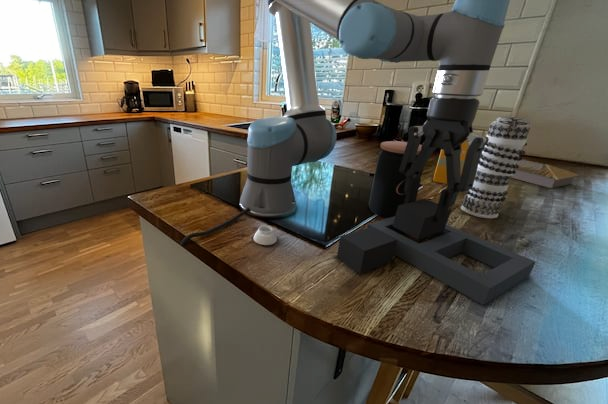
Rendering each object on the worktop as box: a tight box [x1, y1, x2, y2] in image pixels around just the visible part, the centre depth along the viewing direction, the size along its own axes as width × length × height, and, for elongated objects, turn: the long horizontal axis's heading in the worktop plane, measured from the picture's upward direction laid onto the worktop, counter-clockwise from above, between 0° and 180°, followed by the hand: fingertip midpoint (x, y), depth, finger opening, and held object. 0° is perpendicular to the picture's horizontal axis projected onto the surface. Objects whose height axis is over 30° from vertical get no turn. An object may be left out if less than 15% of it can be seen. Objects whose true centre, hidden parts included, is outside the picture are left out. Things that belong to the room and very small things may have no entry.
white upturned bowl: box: [253, 225, 278, 246], centre depth 64 cm, size 5×3×5 cm
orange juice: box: [432, 139, 469, 185], centre depth 102 cm, size 8×9×20 cm
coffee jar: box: [368, 140, 425, 219], centre depth 77 cm, size 11×11×18 cm
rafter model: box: [511, 158, 581, 189], centre depth 115 cm, size 35×14×6 cm, turn 23°
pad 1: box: [336, 226, 397, 275], centre depth 58 cm, size 9×6×5 cm, turn 118°
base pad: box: [366, 216, 537, 306], centre depth 60 cm, size 16×24×4 cm, turn 28°
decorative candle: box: [460, 116, 534, 219], centre depth 77 cm, size 9×9×25 cm
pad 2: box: [393, 198, 453, 241], centre depth 63 cm, size 9×6×5 cm, turn 119°
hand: (423, 213), depth 62 cm, fingers closed on pad 2, 6 cm apart
